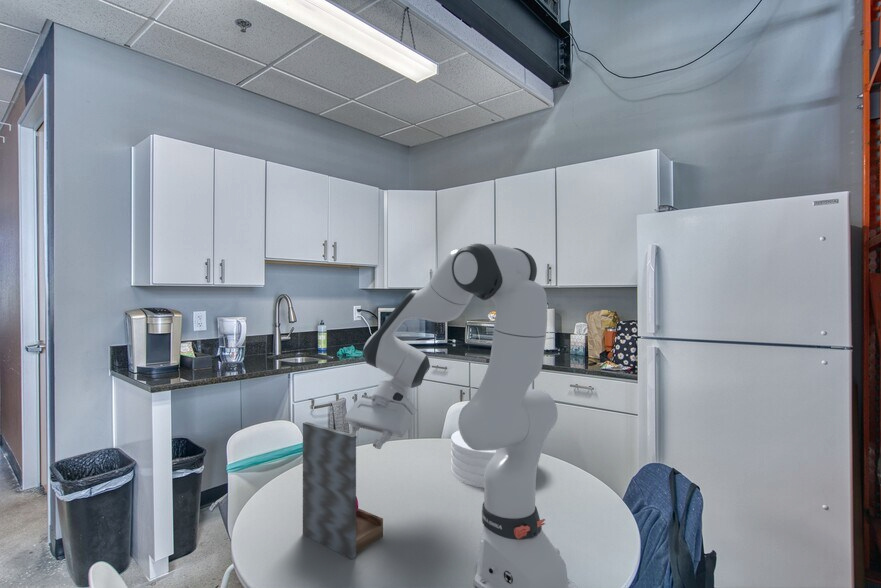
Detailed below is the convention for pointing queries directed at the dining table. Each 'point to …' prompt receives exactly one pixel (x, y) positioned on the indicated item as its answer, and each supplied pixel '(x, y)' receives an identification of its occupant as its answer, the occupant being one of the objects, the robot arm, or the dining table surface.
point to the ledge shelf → (334, 493)
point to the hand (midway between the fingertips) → (362, 444)
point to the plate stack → (468, 461)
